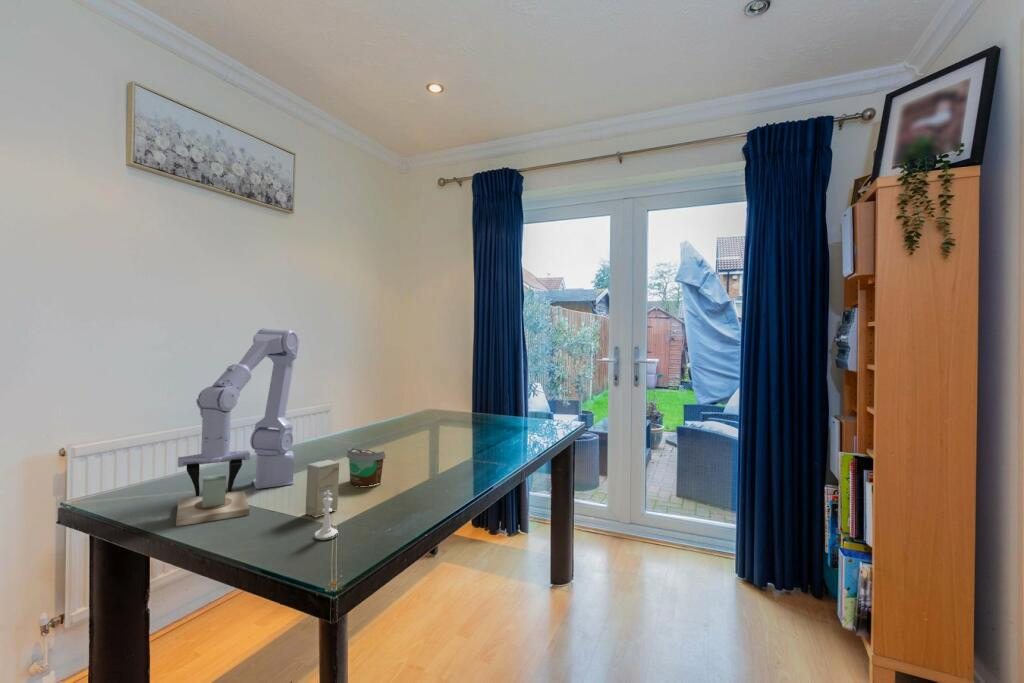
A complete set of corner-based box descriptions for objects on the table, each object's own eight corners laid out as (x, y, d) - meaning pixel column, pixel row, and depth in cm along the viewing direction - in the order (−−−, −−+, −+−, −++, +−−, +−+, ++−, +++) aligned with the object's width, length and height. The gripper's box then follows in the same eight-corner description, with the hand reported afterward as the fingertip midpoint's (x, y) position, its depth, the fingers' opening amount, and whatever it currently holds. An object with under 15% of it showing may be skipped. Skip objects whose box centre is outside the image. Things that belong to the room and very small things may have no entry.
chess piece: (329, 542, 97) (331, 495, 97) (308, 539, 98) (310, 492, 98) (342, 532, 102) (344, 488, 102) (322, 530, 103) (324, 485, 103)
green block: (223, 498, 114) (225, 474, 114) (225, 504, 110) (226, 479, 110) (202, 501, 111) (203, 476, 111) (202, 507, 108) (203, 481, 108)
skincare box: (315, 518, 109) (317, 467, 108) (304, 514, 111) (306, 464, 111) (338, 510, 114) (340, 461, 114) (327, 506, 116) (329, 458, 116)
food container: (336, 484, 133) (337, 450, 133) (350, 478, 139) (352, 445, 139) (370, 491, 128) (371, 456, 128) (384, 485, 134) (385, 451, 134)
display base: (244, 496, 121) (244, 489, 120) (249, 514, 109) (249, 507, 109) (178, 505, 113) (178, 498, 113) (176, 526, 101) (176, 518, 101)
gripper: (178, 443, 103) (175, 503, 103) (252, 437, 111) (249, 493, 112) (179, 436, 109) (177, 493, 109) (249, 431, 117) (247, 484, 117)
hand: (213, 492), depth 111 cm, fingers open, 6 cm apart
